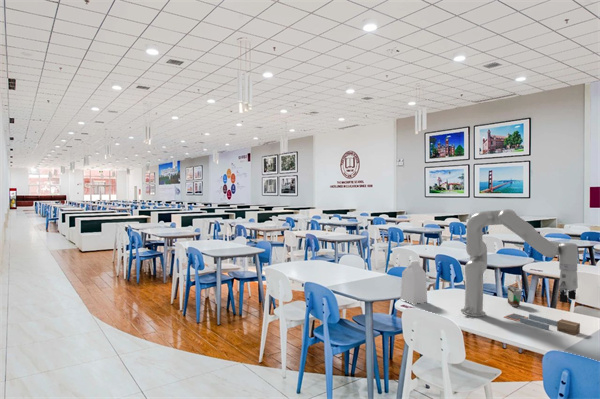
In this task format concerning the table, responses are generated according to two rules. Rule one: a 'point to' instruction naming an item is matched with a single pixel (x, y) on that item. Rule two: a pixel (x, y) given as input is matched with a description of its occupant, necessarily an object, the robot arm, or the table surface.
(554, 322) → the channel
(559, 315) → the table surface
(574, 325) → the walnut block
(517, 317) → the pad
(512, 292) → the food container
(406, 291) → the milk
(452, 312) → the table surface
